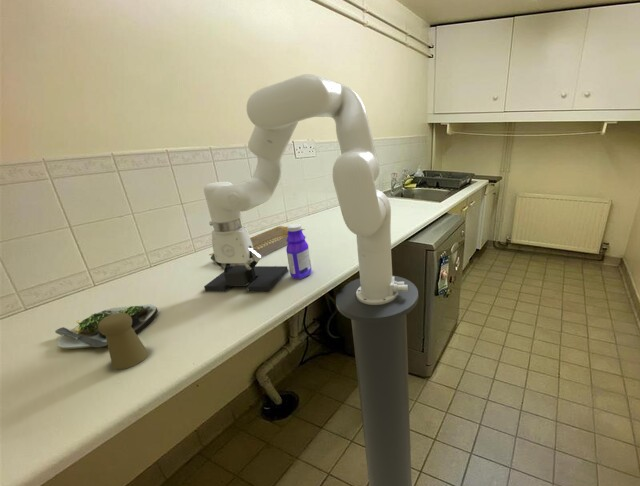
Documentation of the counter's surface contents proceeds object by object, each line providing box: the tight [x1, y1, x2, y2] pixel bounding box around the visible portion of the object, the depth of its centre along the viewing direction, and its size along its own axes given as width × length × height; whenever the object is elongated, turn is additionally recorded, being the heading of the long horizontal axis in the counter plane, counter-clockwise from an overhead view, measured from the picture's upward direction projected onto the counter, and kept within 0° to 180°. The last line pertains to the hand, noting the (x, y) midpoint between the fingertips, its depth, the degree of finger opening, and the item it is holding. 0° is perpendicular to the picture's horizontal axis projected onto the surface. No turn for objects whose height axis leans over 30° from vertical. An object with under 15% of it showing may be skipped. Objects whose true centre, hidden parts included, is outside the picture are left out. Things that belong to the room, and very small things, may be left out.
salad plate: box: [55, 304, 159, 349], centre depth 77 cm, size 19×18×5 cm
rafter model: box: [208, 225, 305, 266], centre depth 126 cm, size 35×14×6 cm, turn 158°
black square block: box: [224, 265, 250, 287], centre depth 97 cm, size 6×6×4 cm
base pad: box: [204, 265, 289, 293], centre depth 101 cm, size 20×14×2 cm
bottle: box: [285, 223, 312, 280], centre depth 101 cm, size 7×6×17 cm
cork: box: [98, 313, 149, 370], centre depth 66 cm, size 6×6×11 cm
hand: (241, 279), depth 97 cm, fingers closed on black square block, 6 cm apart
